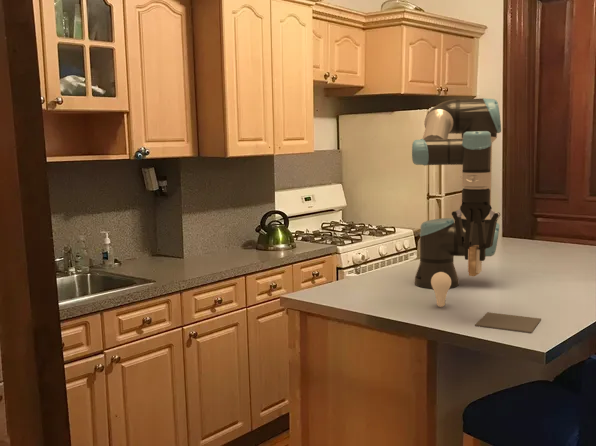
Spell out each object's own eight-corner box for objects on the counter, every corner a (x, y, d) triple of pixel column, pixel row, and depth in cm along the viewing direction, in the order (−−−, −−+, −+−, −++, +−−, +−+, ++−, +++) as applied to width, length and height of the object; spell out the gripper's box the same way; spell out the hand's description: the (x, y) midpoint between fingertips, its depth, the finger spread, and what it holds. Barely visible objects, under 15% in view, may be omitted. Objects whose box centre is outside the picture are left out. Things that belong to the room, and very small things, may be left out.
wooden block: (468, 275, 177) (469, 247, 176) (474, 272, 181) (474, 244, 180) (474, 276, 176) (475, 247, 175) (479, 273, 180) (480, 245, 179)
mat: (474, 325, 176) (474, 324, 176) (487, 313, 188) (487, 312, 188) (531, 333, 169) (531, 331, 169) (541, 319, 181) (541, 318, 181)
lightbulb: (448, 304, 200) (448, 269, 198) (453, 309, 194) (453, 273, 192) (428, 304, 199) (428, 270, 198) (433, 310, 193) (433, 274, 192)
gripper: (445, 188, 176) (444, 271, 179) (499, 189, 168) (497, 276, 171) (454, 186, 182) (453, 267, 185) (506, 187, 175) (504, 271, 178)
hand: (474, 271), depth 178 cm, fingers closed on wooden block, 2 cm apart
